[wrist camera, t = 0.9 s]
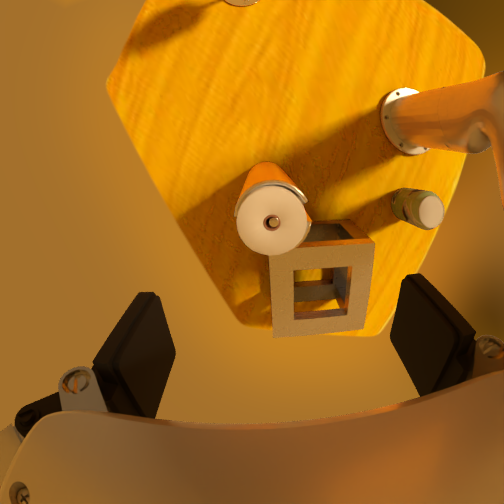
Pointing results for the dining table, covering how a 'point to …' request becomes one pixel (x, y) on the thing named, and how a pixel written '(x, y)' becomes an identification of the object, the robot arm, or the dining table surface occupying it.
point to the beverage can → (418, 207)
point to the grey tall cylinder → (271, 211)
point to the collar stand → (338, 287)
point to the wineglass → (242, 2)
